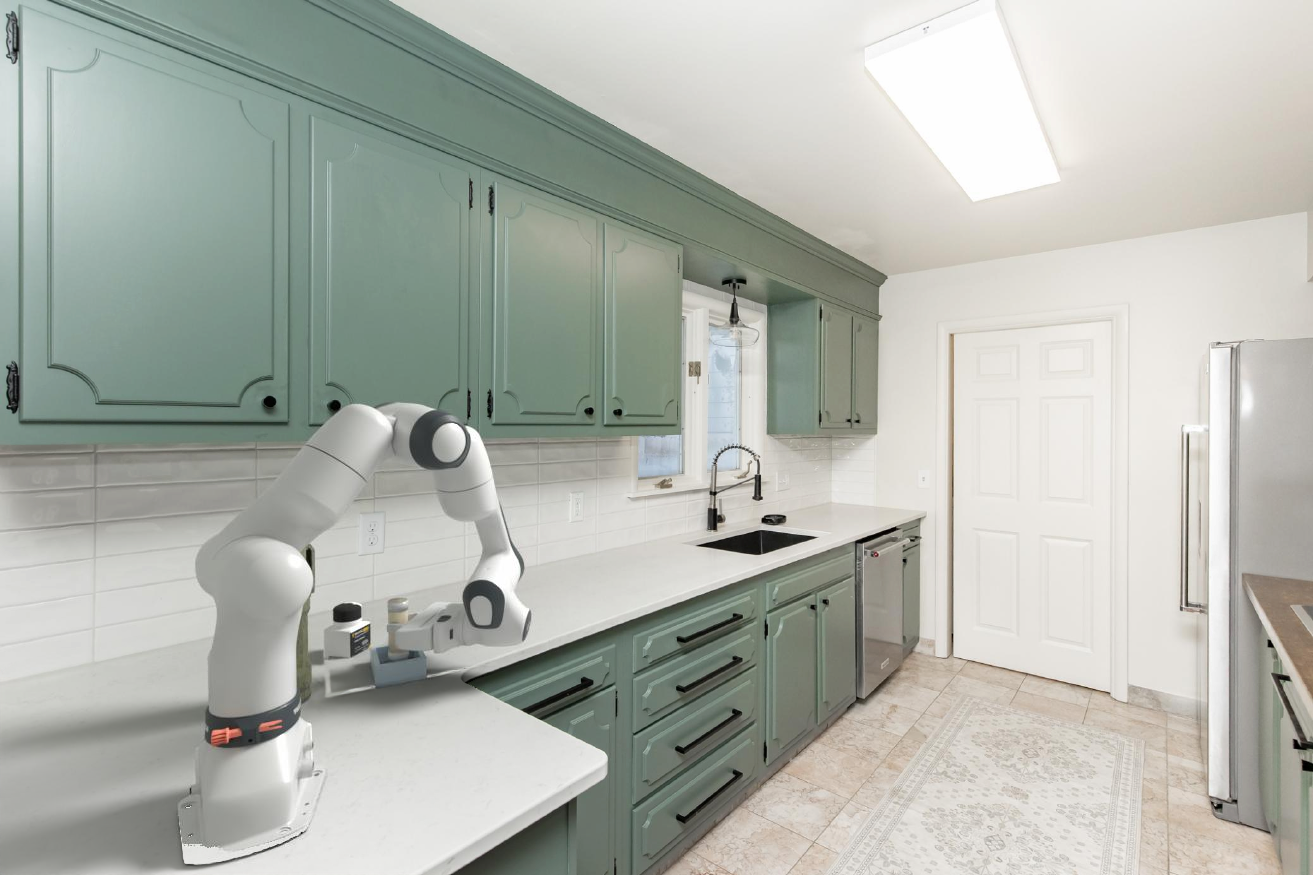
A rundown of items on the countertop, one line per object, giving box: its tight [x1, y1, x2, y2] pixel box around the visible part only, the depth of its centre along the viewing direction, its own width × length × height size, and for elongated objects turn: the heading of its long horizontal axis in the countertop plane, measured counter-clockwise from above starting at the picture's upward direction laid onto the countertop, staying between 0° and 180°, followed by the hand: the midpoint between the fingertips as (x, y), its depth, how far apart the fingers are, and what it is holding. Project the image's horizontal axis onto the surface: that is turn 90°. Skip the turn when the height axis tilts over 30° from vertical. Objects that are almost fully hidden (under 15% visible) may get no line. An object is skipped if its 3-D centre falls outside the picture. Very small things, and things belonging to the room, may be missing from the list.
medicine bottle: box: [323, 601, 372, 660], centre depth 144 cm, size 7×7×12 cm
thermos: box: [296, 543, 316, 705], centre depth 121 cm, size 9×12×35 cm
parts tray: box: [369, 643, 427, 689], centre depth 135 cm, size 12×10×4 cm
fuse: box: [387, 597, 410, 663], centre depth 135 cm, size 4×4×13 cm
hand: (394, 622), depth 135 cm, fingers closed on fuse, 4 cm apart
